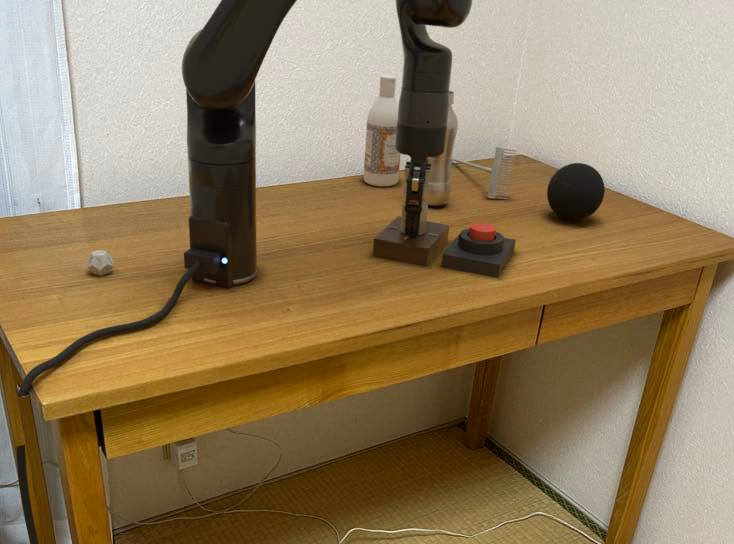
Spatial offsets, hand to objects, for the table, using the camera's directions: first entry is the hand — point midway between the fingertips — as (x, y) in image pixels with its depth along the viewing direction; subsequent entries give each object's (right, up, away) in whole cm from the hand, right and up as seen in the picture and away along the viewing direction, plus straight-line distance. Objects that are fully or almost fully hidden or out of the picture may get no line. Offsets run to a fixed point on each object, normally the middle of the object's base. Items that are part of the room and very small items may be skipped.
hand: (412, 229), depth 132 cm
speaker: (+30, +6, +19) cm, 36 cm away
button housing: (+11, -5, -1) cm, 12 cm away
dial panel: (0, -3, +2) cm, 3 cm away
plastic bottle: (+5, +9, +22) cm, 25 cm away
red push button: (+11, -2, -2) cm, 11 cm away
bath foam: (-4, +16, +32) cm, 36 cm away
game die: (-46, -9, -12) cm, 49 cm away
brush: (+15, +18, +37) cm, 44 cm away
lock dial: (0, 0, 0) cm, 0 cm away
